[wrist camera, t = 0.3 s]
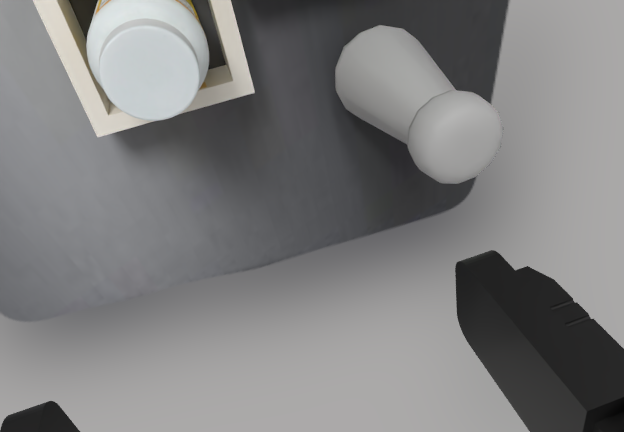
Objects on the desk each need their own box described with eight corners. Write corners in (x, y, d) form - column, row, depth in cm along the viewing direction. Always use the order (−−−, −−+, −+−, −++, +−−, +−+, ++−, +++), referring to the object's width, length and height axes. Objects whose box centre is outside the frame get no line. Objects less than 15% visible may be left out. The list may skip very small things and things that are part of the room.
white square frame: (25, -48, 26) (14, -39, 24) (202, -90, 27) (208, -86, 25) (101, 117, 31) (97, 137, 29) (246, 76, 32) (255, 93, 30)
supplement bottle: (120, -54, 27) (113, -24, 19) (213, 2, 30) (240, 48, 22) (80, 40, 29) (58, 102, 21) (171, 84, 31) (182, 154, 24)
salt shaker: (308, 49, 32) (389, 133, 22) (388, -2, 32) (509, 59, 22) (348, 122, 36) (434, 225, 25) (420, 76, 36) (537, 163, 25)
